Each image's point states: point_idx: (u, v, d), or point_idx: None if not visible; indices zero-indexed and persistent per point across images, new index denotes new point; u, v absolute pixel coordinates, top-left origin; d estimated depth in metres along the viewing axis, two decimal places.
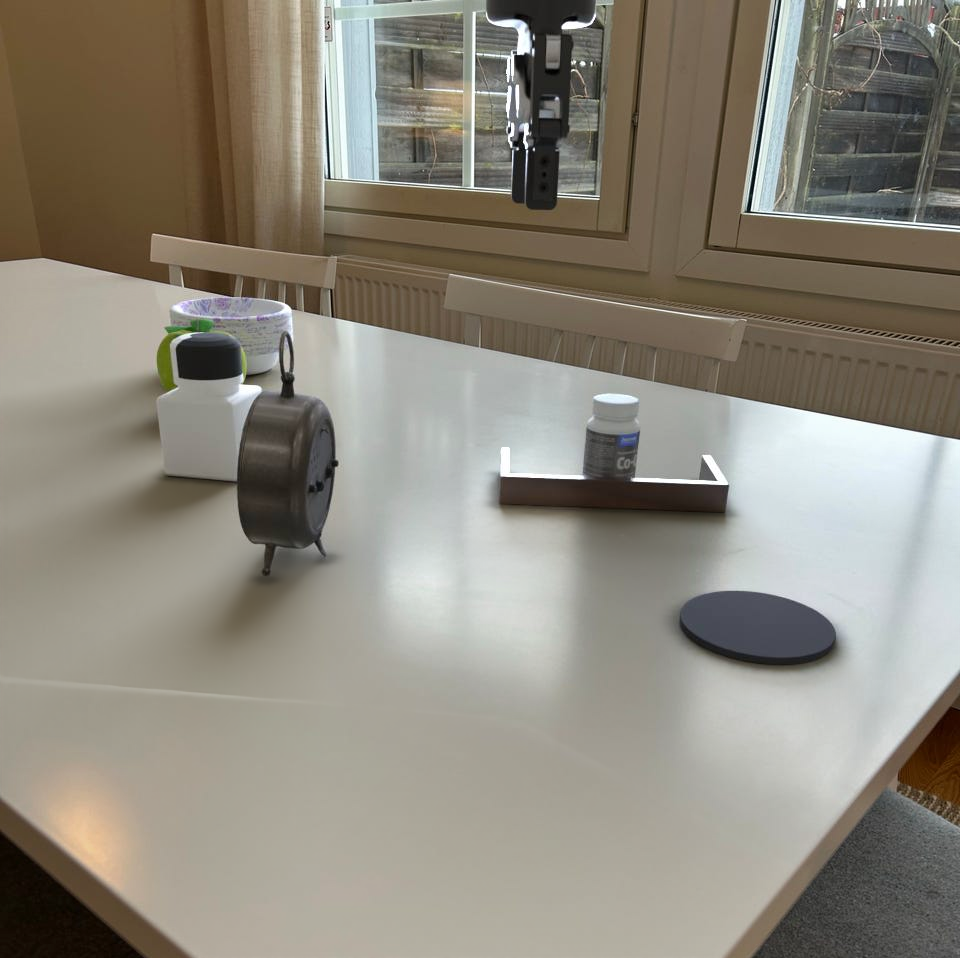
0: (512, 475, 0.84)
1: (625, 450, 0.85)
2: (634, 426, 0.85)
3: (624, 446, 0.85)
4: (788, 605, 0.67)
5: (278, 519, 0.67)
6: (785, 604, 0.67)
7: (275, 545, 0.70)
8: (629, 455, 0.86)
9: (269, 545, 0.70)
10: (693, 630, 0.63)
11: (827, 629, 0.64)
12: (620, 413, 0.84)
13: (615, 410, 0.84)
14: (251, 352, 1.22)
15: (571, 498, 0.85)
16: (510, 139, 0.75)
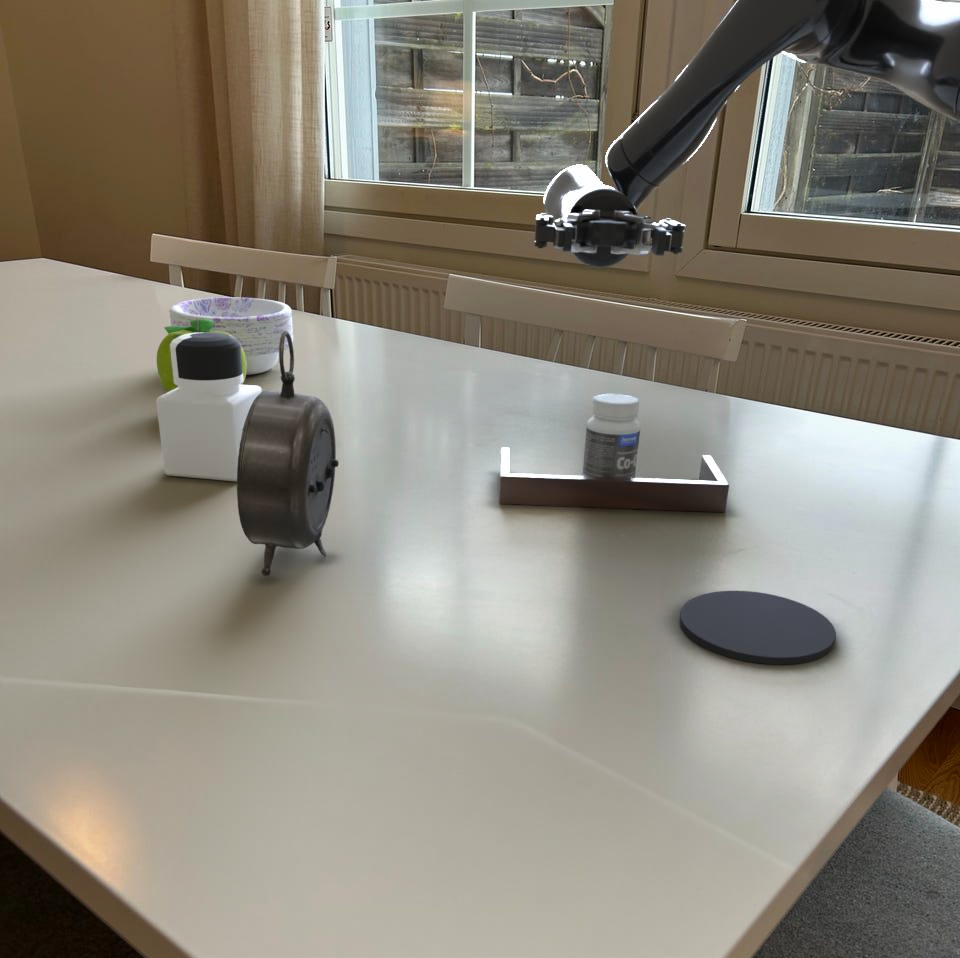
0: (512, 475, 0.84)
1: (625, 450, 0.85)
2: (634, 426, 0.85)
3: (624, 446, 0.85)
4: (788, 605, 0.67)
5: (278, 519, 0.67)
6: (785, 604, 0.67)
7: (275, 545, 0.70)
8: (629, 455, 0.86)
9: (269, 545, 0.70)
10: (693, 630, 0.63)
11: (827, 629, 0.64)
12: (620, 413, 0.84)
13: (615, 410, 0.84)
14: (251, 352, 1.22)
15: (571, 498, 0.85)
16: None
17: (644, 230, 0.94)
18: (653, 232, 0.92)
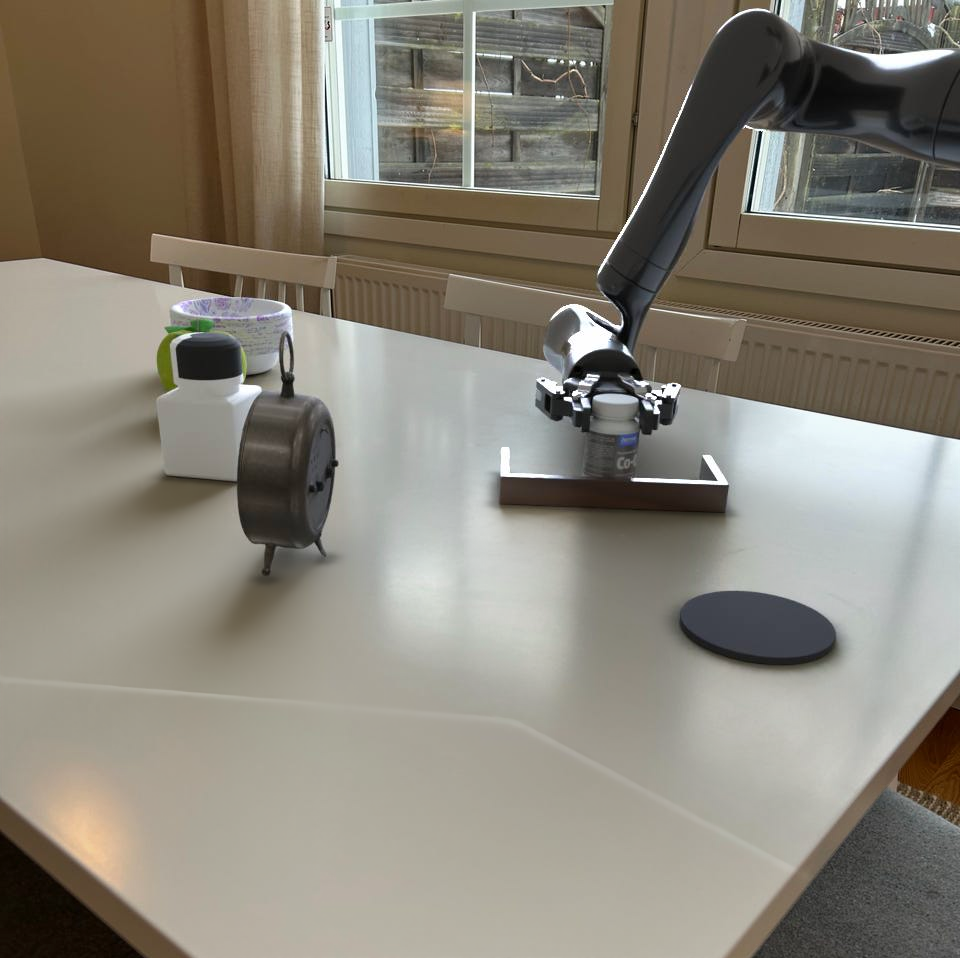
0: (512, 475, 0.84)
1: (625, 450, 0.85)
2: (634, 425, 0.85)
3: (624, 446, 0.85)
4: (788, 605, 0.67)
5: (278, 519, 0.67)
6: (785, 604, 0.67)
7: (275, 545, 0.70)
8: (629, 455, 0.86)
9: (269, 545, 0.70)
10: (693, 630, 0.63)
11: (827, 629, 0.64)
12: (620, 413, 0.84)
13: (615, 410, 0.84)
14: (251, 352, 1.22)
15: (571, 498, 0.85)
16: None
17: None
18: (640, 406, 0.86)
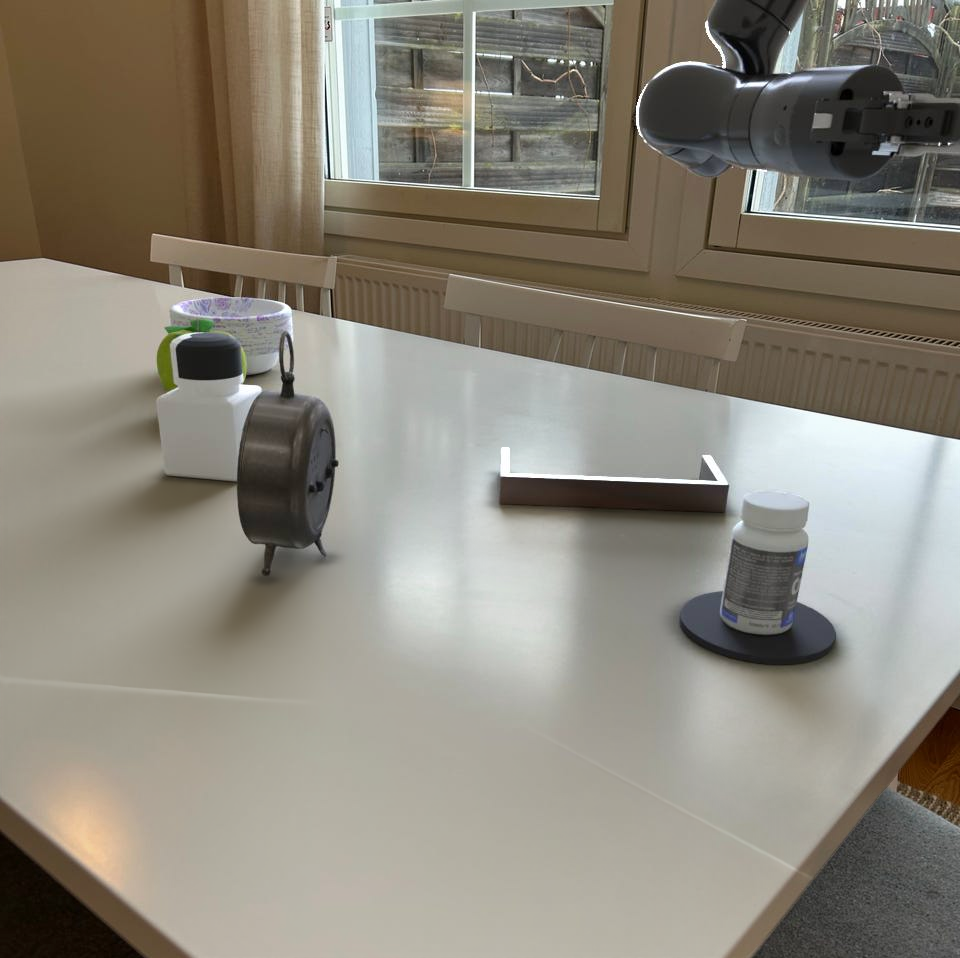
0: (512, 475, 0.84)
1: (800, 568, 0.61)
2: (806, 533, 0.61)
3: (801, 564, 0.61)
4: None
5: (278, 519, 0.67)
6: None
7: (275, 545, 0.70)
8: (801, 574, 0.62)
9: (269, 545, 0.70)
10: (693, 630, 0.63)
11: (827, 629, 0.64)
12: (799, 522, 0.60)
13: (794, 518, 0.60)
14: (251, 352, 1.22)
15: (571, 498, 0.85)
16: None
17: None
18: None
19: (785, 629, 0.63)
